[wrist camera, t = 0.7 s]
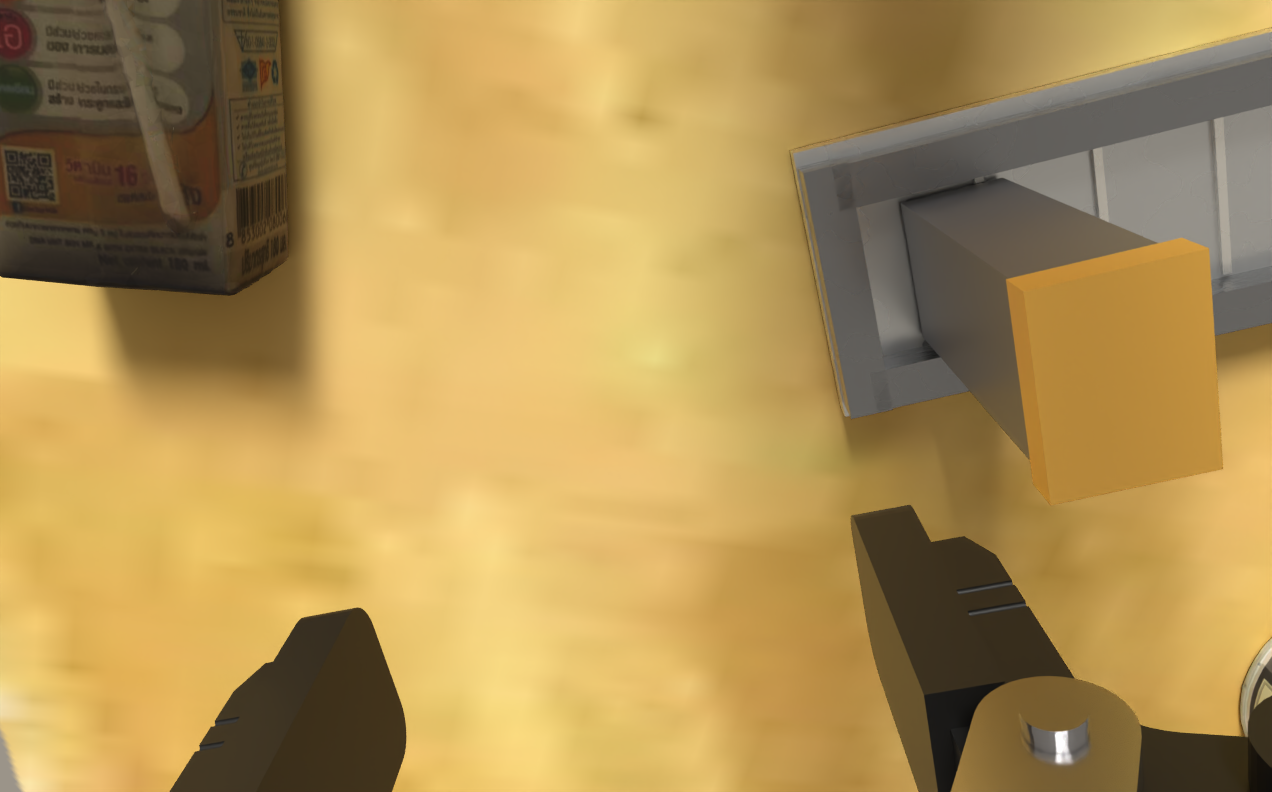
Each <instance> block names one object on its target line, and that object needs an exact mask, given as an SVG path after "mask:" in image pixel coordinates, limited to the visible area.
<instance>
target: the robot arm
mask: <svg viewBox="0 0 1272 792" xmlns="http://www.w3.org/2000/svg"><path fill="white" fill-rule="evenodd" d="M851 529H852V536H853V542H854V548H855V554H856V560H857V566H858V573H859V579H860V585H861V591H862V597H863V603H864V609H865V615H866V621H867V627H868V632H869V637H870V642H871V646H872V651H873V655H874V659H875V663H876V666H877V670H878V673H879V676H880V680H881V682H882V685H883V688H884V691H885V694H886V697H887V700H888V703H889V706H890V709H891V712H892V715H893V718H894V721H895V724H896V726H897V729H898V732H899V735H900V738H901V741H902V744H903V747H904V750H905V753H906V756H907V759H908V762H909V765H910V768H911V771H912V773H913V776H914V779H915V782H916V785H917V788H918V791H919V792H1272V696H1270V697H1268V698H1266V699H1264V700H1263V701H1262V702H1261V703H1259V704H1258V705H1257V706H1256V707H1255V709H1254V710H1253V711H1252V713H1251V714H1250V717H1249V720H1248V737H1239V736H1223V735H1208V734H1193V733H1180V732H1171V731H1164V730H1159V729H1154V728H1149V727H1145V726H1142V725H1140V723H1139V720H1138V718H1137V716H1136V715H1135V713H1134V712H1133V710H1132V709H1131V708H1130V707H1129V706H1128V705H1127V704H1126V703H1125V702H1124V701H1123V700H1122V699H1120V698H1119V697H1118V696H1116V695H1115V694H1113V693H1112V692H1110V691H1108V690H1106V689H1104V688H1102V687H1100V686H1097V685H1095V684H1092V683H1089V682H1086V681H1082V680H1078V679H1075V678H1074V677H1073V675H1072V674H1071V672H1070V670H1069V669H1068V667H1067V666H1066V664H1065V663H1064V661H1063V659H1062V658H1061V656H1060V655H1059V653H1058V652H1057V650H1056V649H1055V647H1054V645H1053V644H1052V642H1051V641H1050V639H1049V638H1048V636H1047V634H1046V633H1045V631H1044V630H1043V628H1042V627H1041V625H1040V624H1039V622H1038V620H1037V619H1036V617H1035V616H1034V614H1033V613H1032V611H1031V609H1030V608H1029V606H1028V607H1027V606H1026V603H1025V600H1024V599H1023V597H1022V595H1021V594H1020V592H1019V591H1018V589H1017V588H1016V586H1015V585H1013V584H1012V580H1011V578H1010V577H1009V575H1008V574H1007V572H1006V570H1005V569H1004V567H1003V566H1002V564H1001V563H1000V561H999V559H998V558H997V556H996V555H995V554H993V553H992V552H990V551H988V550H986V549H985V548H983V547H981V546H980V545H978V544H976V543H975V542H973V541H971V540H969V539H968V538H966V537H964V536H963V537H958V538H952V539H947V540H941V541H935V542H931V541H930V539H929V537H928V536H927V534H926V532H925V530H924V528H923V526H922V524H921V522H920V520H919V519H918V517H917V515H916V513H915V511H914V509H913V508H912V506H911V505H907V506H901V507H896V508H890V509H885V510H879V511H874V512H869V513H863V514H858V515H852V516H851ZM199 746H200V751H196V752H195V753H194V754H193V756H192V757H191V759H190V761H189V762H188V764H187V765H186V767H185V768H184V770H183V772H182V773H181V775H180V776H179V778H178V779H177V781H176V782H175V784H174V786H173V787H172V789H171V790H170V792H392V790H393V787H394V784H395V781H396V778H397V775H398V773H399V770H400V767H401V764H402V761H403V758H404V754H405V749H406V723H405V717H404V712H403V708H402V705H401V702H400V699H399V696H398V693H397V691H396V688H395V685H394V682H393V679H392V677H391V674H390V671H389V668H388V666H387V663H386V660H385V657H384V654H383V652H382V649H381V646H380V643H379V641H378V638H377V635H376V632H375V629H374V627H373V624H372V622H371V620H370V618H369V616H368V614H367V613H366V612H365V611H364V610H363V609H361V608H353V609H347V610H342V611H336V612H331V613H325V614H320V615H314V616H309V617H304V618H301V619H300V620H299V621H298V622H297V624H296V625H295V627H294V628H293V630H292V632H291V633H290V635H289V637H288V638H287V640H286V642H285V643H284V645H283V647H282V648H281V650H280V651H279V653H278V655H277V656H276V658H275V660H274V661H273V662H270V663H265V664H264V665H263V666H262V667H261V668H260V669H259V670H257V671H256V672H255V673H254V674H253V675H252V676H251V677H250V678H248V679H247V680H246V681H245V682H244V683H243V684H242V685H241V686H239V687H238V688H237V689H236V690H235V691H234V692H233V693H232V695H231V697H230V698H229V700H228V701H227V703H226V704H225V706H224V708H223V709H222V711H221V712H220V714H219V715H218V717H217V718H216V720H215V726H214V727H211V728H210V729H209V731H208V733H207V734H206V736H205V737H204V739H203V740H202V742H201V743H200V745H199Z"/></svg>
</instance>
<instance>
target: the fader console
mask: <svg viewBox="0 0 1272 792" xmlns="http://www.w3.org/2000/svg"><path fill="white" fill-rule="evenodd" d="M789 151H790V156H791V161H792V166H793V171H794V176H795V181H796V186H797V191H798V196H799V201H800V206H801V211H802V216H803V221H804V226H805V231H806V236H807V241H808V246H809V251H810V256H811V261H812V266H813V271H814V276H815V281H816V286H817V291H818V296H819V301H820V306H821V311H822V316H823V321H824V326H825V331H826V336H827V341H828V346H829V352H830V357H831V362H832V367H833V372H834V377H835V382H836V387H837V392H838V397H839V402H840V407H841V409H842V411H843V413H844V415H845V417H846V416H850V417H851V419H853V418H858V417H862V416H867V415H871V414H875V413H880V412H884V411H889V410H893V409H892V408H896V407H901V406H905V405H910V404H914V403H918V402H923V401H927V400H932V399H936V398H941V397H945V396H950V395H954V394H958V393H963V392H967V391H969V390H968V389H967V387H966V386H965V385H964V384H963V383H962V382H961V380H960V379H959V378H958V377H957V376H956V375H955V374H954V372H953V371H952V370H951V369H950V368H949V367H948V365H947V364H946V363H945V362H944V361H943V360H942V359H941V357H940V356H939V355H938V354H937V353H936V352H935V350H934V349H933V348H932V347H931V346H930V345H929V344H928V342H927V341H926V340H925V339H924V338H923V334H922V328H921V322H920V316H919V310H918V304H917V298H916V292H915V286H914V279H913V273H912V267H911V261H910V255H909V249H908V243H907V237H906V231H905V225H904V219H903V213H902V207H901V203H902V202H906V201H910V200H914V199H918V198H922V197H926V196H930V195H934V194H938V193H942V192H946V191H950V190H954V189H958V188H962V187H966V186H971V185H975V184H979V183H983V182H987V181H991V180H995V179H999V178H1005V179H1007V180H1010V181H1012V182H1014V183H1017V184H1019V185H1021V186H1024V187H1026V188H1029V189H1031V190H1033V191H1036V192H1038V193H1040V194H1043V195H1045V196H1048V197H1050V198H1052V199H1055V200H1057V201H1059V202H1062V203H1064V204H1067V205H1069V206H1071V207H1074V208H1076V209H1078V210H1081V211H1083V212H1086V213H1088V214H1090V215H1093V216H1095V217H1097V218H1100V219H1102V220H1105V221H1107V222H1109V223H1112V224H1114V225H1116V226H1119V227H1121V228H1124V229H1126V230H1128V231H1131V232H1133V233H1135V234H1138V235H1140V236H1143V237H1145V238H1147V239H1150V240H1152V241H1154V242H1157V243H1161V242H1166V241H1170V240H1174V239H1178V238H1184V239H1187V240H1189V241H1192V242H1194V243H1197V244H1200V245H1202V246H1205V247H1207V248H1209V253H1210V269H1211V285H1212V301H1213V317H1214V333H1215V336H1216V335H1220V334H1225V333H1229V332H1234V331H1238V330H1243V329H1247V328H1251V327H1256V326H1260V325H1265V324H1269V323H1272V27H1271V28H1268V29H1264V30H1260V31H1256V32H1252V33H1248V34H1244V35H1240V36H1236V37H1232V38H1228V39H1224V40H1220V41H1217V42H1213V43H1209V44H1205V45H1201V46H1197V47H1193V48H1189V49H1185V50H1181V51H1177V52H1173V53H1170V54H1166V55H1162V56H1158V57H1154V58H1150V59H1146V60H1142V61H1138V62H1134V63H1130V64H1126V65H1122V66H1119V67H1115V68H1111V69H1107V70H1103V71H1099V72H1095V73H1091V74H1087V75H1083V76H1079V77H1075V78H1072V79H1068V80H1064V81H1060V82H1056V83H1052V84H1048V85H1044V86H1040V87H1036V88H1032V89H1028V90H1024V91H1021V92H1017V93H1013V94H1009V95H1005V96H1001V97H997V98H993V99H989V100H985V101H981V102H977V103H974V104H970V105H966V106H962V107H958V108H954V109H950V110H946V111H942V112H938V113H934V114H930V115H926V116H923V117H919V118H915V119H911V120H907V121H903V122H899V123H895V124H891V125H887V126H883V127H879V128H876V129H872V130H868V131H864V132H860V133H856V134H852V135H848V136H844V137H840V138H836V139H832V140H828V141H825V142H821V143H817V144H813V145H809V146H805V147H801V148H797V149H793V150H789Z"/></svg>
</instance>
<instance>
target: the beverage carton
mask: <svg viewBox="0 0 1272 792" xmlns="http://www.w3.org/2000/svg"><path fill="white" fill-rule="evenodd" d="M287 242H288V210H287V172H286V148H285V124H284V103H283V86H282V70H281V45H280V19H279V3H278V0H0V276H1V277H4V278H15V279H25V280H35V281H45V282H55V283H65V284H75V285H85V286H95V287H111V288H127V289H143V290H161V291H174V292H187V293H200V294H214V295H235V294H237V293H238V292H240V291H242V290H243V289H245V288H247V287H249V286H250V285H252V284H253V283H255V282H256V281H258V280H259V279H260V278H261V277H263V276H265V275H267V274H269V273H271V271H272V270H273V269H275V268H277V267H278V266H279V265H281V264H282V263H283V262H284V261H286V260H287V258H288V246H287Z"/></svg>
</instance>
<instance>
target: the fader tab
mask: <svg viewBox="0 0 1272 792" xmlns="http://www.w3.org/2000/svg"><path fill="white" fill-rule="evenodd" d="M901 207H902V213H903V219H904V225H905V231H906V237H907V243H908V249H909V255H910V261H911V267H912V273H913V279H914V286H915V292H916V298H917V304H918V310H919V316H920V322H921V328H922V334H923V338H924V339H925V340H926V341H927V342H928V344H929V345H930V346H931V347H932V348H933V349H934V350H935V352H936V353H937V354H938V355H939V356H940V357H941V359H942V360H943V361H944V362H945V363H946V364H947V365H948V367H949V368H950V369H951V370H952V371H953V372H954V374H955V375H956V376H957V377H958V378H959V379H960V380H961V382H962V383H963V384H964V385H965V386H966V387H967V389H968V390H969V391H970V392H971V393H972V394H973V395H974V397H975V398H976V399H977V400H978V401H979V402H980V404H981V405H982V406H983V407H984V408H985V409H986V410H987V412H988V413H989V414H990V415H991V416H992V417H993V419H994V420H995V421H996V422H997V423H998V424H999V425H1000V427H1001V428H1002V429H1003V430H1004V431H1005V432H1006V434H1007V435H1008V436H1009V437H1010V438H1011V439H1012V440H1013V442H1014V443H1015V444H1016V445H1017V446H1018V447H1019V449H1020V450H1021V451H1022V452H1023V453H1024V454H1025V455H1026V457H1027V458H1028V459H1029V460H1030V464H1031V472H1032V479H1033V485H1034V486H1035V487H1036V488H1037V489H1038V491H1039V492H1040V493H1041V494H1042V495H1043V497H1044V498H1045V499H1046V500H1047V501H1048V503H1049V504H1050V505H1055V504H1060V503H1065V502H1070V501H1074V500H1079V499H1084V498H1088V497H1093V496H1098V495H1103V494H1107V493H1112V492H1117V491H1122V490H1126V489H1131V488H1136V487H1140V486H1145V485H1150V484H1155V483H1159V482H1164V481H1169V480H1174V479H1178V478H1183V477H1188V476H1192V475H1197V474H1202V473H1207V472H1211V471H1216V470H1221V469H1223V459H1222V444H1221V428H1220V412H1219V396H1218V380H1217V364H1216V348H1215V333H1214V317H1213V301H1212V285H1211V269H1210V253H1209V248H1207V247H1205V246H1202V245H1200V244H1197V243H1194V242H1192V241H1189V240H1187V239H1184V238H1178V239H1174V240H1170V241H1166V242H1161V243H1157V242H1154V241H1152V240H1150V239H1147V238H1145V237H1143V236H1140V235H1138V234H1135V233H1133V232H1131V231H1128V230H1126V229H1124V228H1121V227H1119V226H1116V225H1114V224H1112V223H1109V222H1107V221H1105V220H1102V219H1100V218H1097V217H1095V216H1093V215H1090V214H1088V213H1086V212H1083V211H1081V210H1078V209H1076V208H1074V207H1071V206H1069V205H1067V204H1064V203H1062V202H1059V201H1057V200H1055V199H1052V198H1050V197H1048V196H1045V195H1043V194H1040V193H1038V192H1036V191H1033V190H1031V189H1029V188H1026V187H1024V186H1021V185H1019V184H1017V183H1014V182H1012V181H1010V180H1007V179H1005V178H999V179H995V180H991V181H987V182H983V183H979V184H975V185H971V186H966V187H962V188H958V189H954V190H950V191H946V192H942V193H938V194H934V195H930V196H926V197H922V198H918V199H914V200H910V201H906V202H902V203H901Z"/></svg>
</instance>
